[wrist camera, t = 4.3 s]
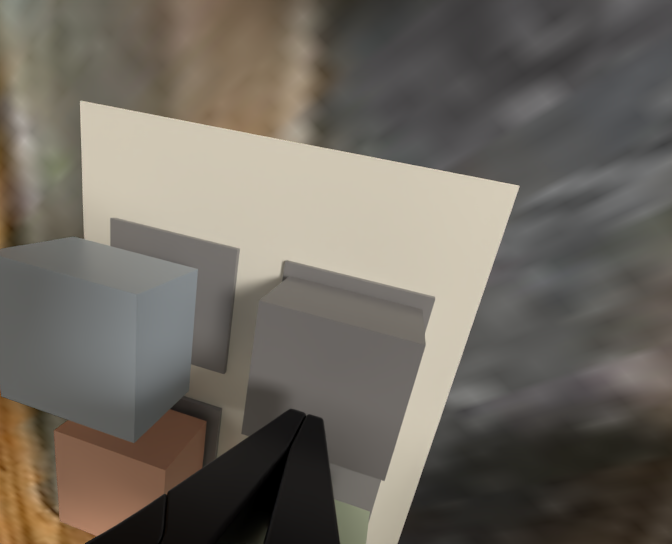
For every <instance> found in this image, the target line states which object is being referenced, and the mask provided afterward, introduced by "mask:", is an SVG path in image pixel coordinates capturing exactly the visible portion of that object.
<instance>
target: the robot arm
mask: <svg viewBox="0 0 672 544" xmlns="http://www.w3.org/2000/svg"><path fill="white" fill-rule="evenodd" d="M85 544H340V538H339V531H338V523H337V516H336V508H335V501H334V493H333V486H332V478H331V471H330V463H329V456H328V449H327V441H326V434H325V426H324V420H323V419H322V418H321V417H318V416H315V415H311V414H308V415H306V414H305V413H304V412H302V411H299V410H295V409H289V410H287V411H286V412H284V413H283V414H281V415H280V416H278V417H277V418H275V419H274V420H272V421H271V422H269V423H268V424H266V425H265V426H263V427H262V428H260V429H259V430H258V431H256V432H255V433H253V434H252V435H250V436H249V437H247V438H246V439H244V440H243V441H241V442H240V443H238V444H237V445H235V446H234V447H232V448H231V449H229V450H228V451H227V452H225V453H224V454H222V455H221V456H219V457H218V458H216V459H215V460H213V461H212V462H210V463H209V464H207V465H206V466H204V467H203V468H201V469H200V470H199V471H197V472H196V473H194V474H193V475H191V476H190V477H188V478H187V479H185V480H184V481H182V482H181V483H179V484H178V485H176V486H175V487H173V488H172V489H170V490H169V491H168V492H167V495H166V494H163V495H161V496H160V497H158V498H157V499H155V500H154V501H152V502H151V503H150V504H148V505H147V506H145V507H144V508H142V509H140V510H139V511H137V512H136V513H134V514H133V515H131V516H130V517H128V518H126V519H125V520H123V521H122V522H120V523H119V524H117V525H116V526H114V527H112V528H110V529H109V530H107V531H105V532H104V533H102V534H100V535H98V536H97V537H95V538H93V539H92V540H90V541H88V542H87V543H85Z"/></svg>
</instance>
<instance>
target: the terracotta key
mask: <svg viewBox="0 0 672 544" xmlns="http://www.w3.org/2000/svg"><path fill="white" fill-rule="evenodd" d="M206 424H207V421H204V420H201V419H198V418H195V417H192V416H189V415H186V414H183V413H180V412H177V411H174V410H171V409H169V410H168V411H167V412H166V413H165V414H164V415H163V416H162V417H161V418H160V419H159V420H158V421H157V422H156V423H155V424H154V425H153V426H152V427H151V428H149V429H148V430H147V431H146V432H145V433H144V434H143V435H142V436H141V437H140V438H139V439H138V440H137V441H136V442H135V443H132V442H129V441H127V440H124V439H121V438H118V437H115V436H112V435H110V434H107V433H104V432H101V431H98V430H95V429H93V428H90V427H87V426H84V425H81V424H78V423H75V422H73V421H70V420H68V421H66V422H65V423H63V424H62V425H60V426H59V427H58V428H56V429H55V430H54V441H55V456H56V471H57V486H58V501H59V516H60V521H61V522H63V523H66V524H68V525H71V526H73V527H76V528H78V529H80V530H83V531H85V532H88V533H90V534H93V535H95V536H98V535H100V534H102V533H104V532H105V531H107V530H109V529H110V528H112V527H114V526H116V525H117V524H119V523H120V522H122V521H123V520H125V519H126V518H128V517H130V516H131V515H133V514H134V513H136V512H137V511H139V510H140V509H142V508H144V507H145V506H147V505H148V504H150V503H151V502H152V501H154V500H155V499H157V498H158V497H160V496H161V495H163V494H166V495H167V492H168V491H169V490H170V489H172V488H173V487H175V486H176V485H178V484H179V483H181V482H182V481H184V480H185V479H187V478H188V477H190V476H191V475H193V474H194V473H196V472H197V471H199V470H200V469H201V468H202V466H203V455H204V445H205V435H206Z"/></svg>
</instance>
